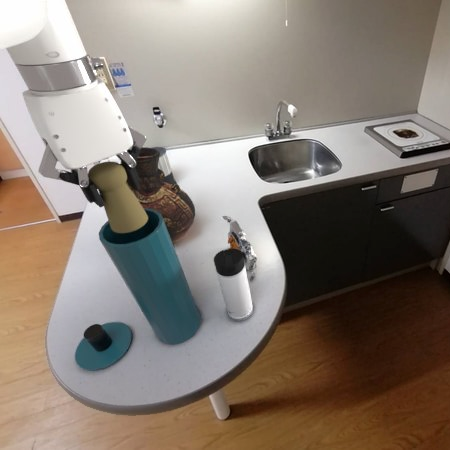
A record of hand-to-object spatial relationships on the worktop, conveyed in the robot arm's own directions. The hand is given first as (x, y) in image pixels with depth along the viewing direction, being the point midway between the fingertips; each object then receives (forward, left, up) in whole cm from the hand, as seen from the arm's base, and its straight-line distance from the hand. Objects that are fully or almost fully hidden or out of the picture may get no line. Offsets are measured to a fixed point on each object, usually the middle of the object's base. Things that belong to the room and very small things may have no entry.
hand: (116, 194), depth 50 cm
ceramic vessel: (+16, +30, -38) cm, 51 cm away
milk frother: (+31, +54, -38) cm, 73 cm away
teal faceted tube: (0, 0, -38) cm, 38 cm away
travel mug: (+12, -9, -38) cm, 41 cm away
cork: (0, 0, -6) cm, 6 cm away
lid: (-14, +8, -38) cm, 41 cm away
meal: (+23, +3, -38) cm, 45 cm away
